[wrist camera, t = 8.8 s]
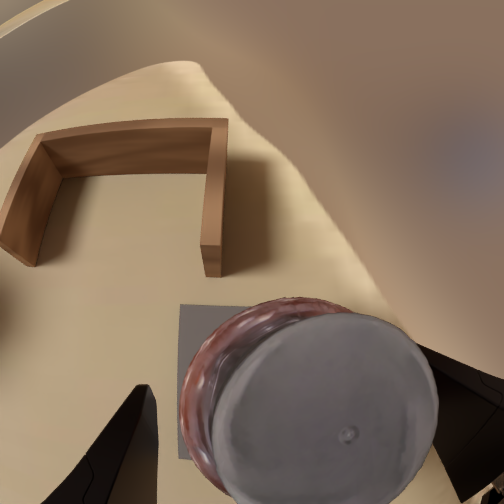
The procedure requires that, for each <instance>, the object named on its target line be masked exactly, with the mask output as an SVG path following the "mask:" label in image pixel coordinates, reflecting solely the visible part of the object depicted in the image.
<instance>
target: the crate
mask: <svg viewBox="0 0 504 504" xmlns="http://www.w3.org/2000/svg"><path fill="white" fill-rule="evenodd" d="M227 140H228V119H227V118H168V119H147V120H133V121H121V122H112V123H103V124H95V125H87V126H81V127H74V128H68V129H62V130H57V131H52V132H47V133H42V134H37V135H36V137H35V138H34V140H33V142H32V144H31V146H30V147H29V149H28V151H27V153H26V155H25V157H24V159H23V161H22V163H21V165H20V167H19V169H18V171H17V173H16V175H15V178H14V180H13V182H12V184H11V186H10V189H9V191H8V193H7V196H6V198H5V201H4V203H3V206H2V209H1V211H0V247H1V248H2V249H4V250H5V251H6V252H8V253H9V254H10V255H12V256H13V257H15V258H16V259H17V260H19V261H20V262H22V263H23V264H24V265H26V266H29V267H35V266H36V261H37V257H38V253H39V249H40V245H41V242H42V238H43V235H44V231H45V228H46V225H47V221H48V218H49V215H50V212H51V209H52V206H53V203H54V200H55V198H56V195H57V192H58V189H59V187H60V184H61V182H62V179H63V178H71V177H84V176H99V175H119V174H151V173H201V174H207V176H206V185H205V195H204V205H203V215H202V227H201V239H200V248H201V253H202V259H203V264H204V270H205V275H206V277H221V265H222V240H223V219H224V200H225V182H226V166H227Z"/></svg>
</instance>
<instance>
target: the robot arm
mask: <svg viewBox="0 0 504 504" xmlns="http://www.w3.org/2000/svg"><path fill="white" fill-rule="evenodd" d="M416 344H417V343H416ZM417 346H418V347H419V348H420V350H421V351H422V353H423V354H424V355H425V357H426V359H427V360H428V363H429V366H430V368H431V369H432V372H433V376H434V379H435V383H436V387H437V394H438V399H439V409H438V421H437V428H436V432H435V436H434V439H433V441H432V443H433V445H434V447H435V449H436V451H437V453H438V455H439V457H440V459H441V461H442V463H443V465H444V467H445V470H446V472H447V474H448V476H449V478H450V480H451V483H452V485H453V487H454V489H455V491H456V494H457V496H458V498H459V500H460V502H461V503H463V502H465V501H466V500H468V499H469V498H471V497H472V496H474V495H475V494H477V493H478V492H479V491H481V490H482V489H483V488H485V487H486V486H487V485H489V484H490V483H492V484H493V487H492V488H491V489H490V490H489V491H488V492H486V493H485V494H484V495H483V496H482V500H481V504H504V379H501V378H498V377H495V376H492V375H489V374H487V373H484V372H482V371H480V370H477V369H475V368H473V367H470V366H468V365H466V364H463V363H461V362H458V361H456V360H454V359H451V358H449V357H447V356H445V355H442V354H440V353H438V352H435V351H433V350H431V349H429V348H426V347H424V346H422V345H420V344H417ZM158 445H159V441H158V425H157V405H156V400H155V397H154V395H153V392H152V390H151V388H150V386H149V385H148V384H139V385H136V386H135V388H134V389H133V390H132V392H131V393H130V394H129V396H128V397H127V398H126V400H125V401H124V402H123V404H122V405H121V406H120V408H119V409H118V410H117V412H116V413H115V414H114V416H113V417H112V418H111V420H110V421H109V422H108V424H107V425H106V426H105V428H104V429H103V430H102V432H101V433H100V435H99V436H98V437H97V439H96V440H95V441H94V443H93V444H92V445H91V447H90V448H89V449H88V451H87V452H86V455H84V456H83V457H82V459H81V460H80V462H79V463H78V464H77V465H76V467H75V468H74V469H73V470H72V472H71V473H70V474H69V475H68V476H67V477H66V478H65V480H64V481H63V482H62V483H61V484H60V485H59V486H58V487H57V488H56V489H55V490H54V491H53V492H52V493H51V494H50V495H49V496H48V497H47V498H46V499H45V500H44V501H43V502H42V503H41V504H157V469H158Z"/></svg>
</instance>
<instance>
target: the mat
mask: <svg viewBox="0 0 504 504" xmlns="http://www.w3.org/2000/svg"><path fill="white" fill-rule="evenodd" d="M248 308H250V307H239V306H206V305H183V304H180V318H179V339H178V373H177V423H178V455H179V459H188V460H192V459H191V457H190V455H189V453H188V450H187V447H186V445H185V443H184V440H183V436H182V432H181V427H180V421H179V400H180V394H181V389H182V384H183V381H184V377H185V375H186V372H187V369H188V367H189V365H190V362H191V361H192V359H193V357H194V355H195V354H196V353H197V351H198V350H199V349H200V347H201V346H202V344H203V343H204V342H205V340H206V339H207V337H209V336H210V335H211V334H212V333H213V331H214V330H215V329H217V328H218V327H219V326H220V325H221V324H223V323H224V322H225V321H227V320H228V319H230V318H231V317H233V316H234V315H236V314H238V313H240V312H242V311H244V310H246V309H248Z"/></svg>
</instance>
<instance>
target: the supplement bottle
mask: <svg viewBox="0 0 504 504" xmlns="http://www.w3.org/2000/svg"><path fill="white" fill-rule="evenodd" d="M438 409H439V399H438V394H437V387H436V383H435V379H434V376H433V372H432V369H431V368H430V366H429V363H428V360H427V359H426V357H425V355H424V354H423V353H422V351H421V350H420V348H419V347H418V346H417V344H416V343H415V342H414V341H413V340H412V339H410V338H409V337H408V336H407V334H405V333H404V332H403V331H402V330H401V329H399V328H398V327H396V326H394V325H393V324H391V323H389V322H386V321H384V320H381V319H379V318H377V317H373V316H369V315H363V314H359V313H354V312H352V311H351V310H349V309H347V308H345V307H342V306H340V305H337V304H334V303H331V302H328V301H325V300H320V299H317V298H315V299H313V298H303V297H296V298H294V297H292V298H285V297H284V298H280V299H276V300H272V301H267V302H264V303H260V304H258V305H255V306H253V307H250V308H248V309H246V310H244V311H242V312H240V313H238V314H236V315H234V316H233V317H231V318H230V319H228V320H227V321H225V322H224V323H223V324H221V325H220V326H219V327H218V328H217V329H215V330H214V331H213V333H212V334H211V335H210V336H209V337H207V339H206V340H205V342H204V343H203V344H202V346H201V347H200V349H199V350H198V351H197V353H196V354H195V355H194V357H193V359H192V361H191V362H190V365H189V367H188V369H187V372H186V375H185V377H184V381H183V384H182V389H181V394H180V400H179V421H180V427H181V432H182V436H183V440H184V443H185V445H186V447H187V450H188V453H189V455H190V457H191V459H192V460H193V461H194V463H195V465H196V466H197V468H198V469H199V470H200V471H201V472H202V474H203V475H204V476H205V477H206V478H207V479H208V480H209V481H210V482H211V483H212V484H213V485H214V486H216V487H217V488H218V489H219V490H221V491H222V492H223V493H225V494H226V495H229V496H230V497H232V498H233V499H234V500H235V501H236V502H237V504H389V503H390V502H391V501H392V500H394V499H395V498H396V497H397V496H399V495H400V494H401V493H402V491H403V490H404V489H405V488H406V487H407V485H408V484H409V483H410V482H411V481H412V480H413V479H414V477H415V475H416V474H417V472H418V471H419V470H420V468H421V467H422V465H423V463H424V461H425V459H426V457H427V454H428V452H429V450H430V448H431V445H432V441H433V439H434V436H435V432H436V428H437V421H438Z"/></svg>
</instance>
